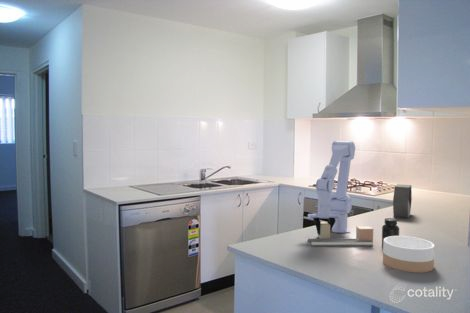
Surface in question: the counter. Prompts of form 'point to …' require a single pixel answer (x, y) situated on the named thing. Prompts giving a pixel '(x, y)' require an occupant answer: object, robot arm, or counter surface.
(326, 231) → the box
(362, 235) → the faced tea box
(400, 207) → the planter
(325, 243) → the pair of grey rails
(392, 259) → the bowl
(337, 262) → the counter surface
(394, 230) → the supplement bottle
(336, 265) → the counter surface
